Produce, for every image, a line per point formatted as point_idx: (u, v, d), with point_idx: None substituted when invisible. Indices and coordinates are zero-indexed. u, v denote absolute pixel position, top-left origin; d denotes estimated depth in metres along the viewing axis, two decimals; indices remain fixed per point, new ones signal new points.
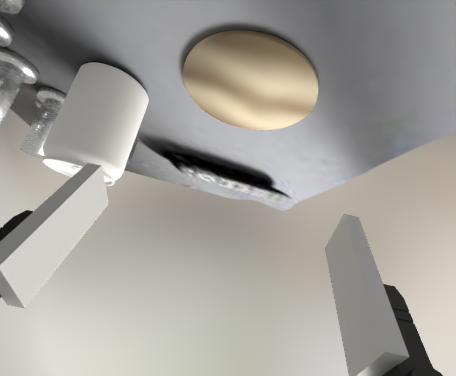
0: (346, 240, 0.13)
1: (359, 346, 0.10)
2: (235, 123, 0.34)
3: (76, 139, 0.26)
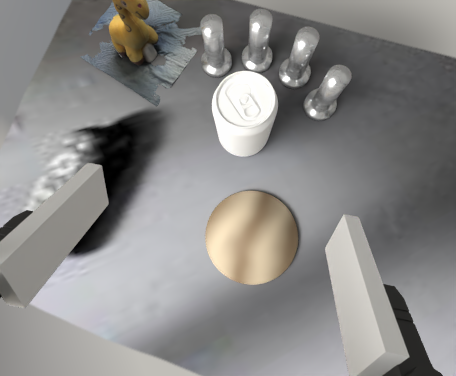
0: (346, 240, 0.13)
1: (359, 346, 0.10)
2: (211, 222, 0.41)
3: None
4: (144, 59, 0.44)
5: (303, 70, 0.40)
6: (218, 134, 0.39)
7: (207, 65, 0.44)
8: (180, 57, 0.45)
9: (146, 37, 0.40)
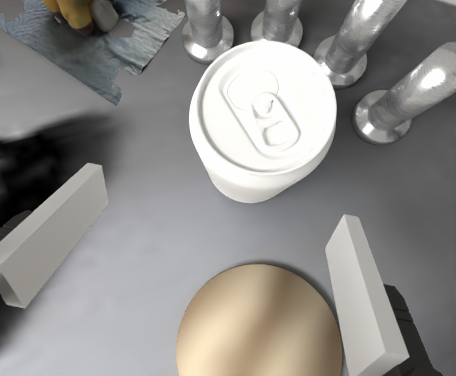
0: (347, 240, 0.13)
1: (359, 346, 0.10)
2: (189, 321, 0.23)
3: None
4: (95, 26, 0.26)
5: (360, 56, 0.23)
6: None
7: (192, 42, 0.26)
8: (158, 24, 0.27)
9: None
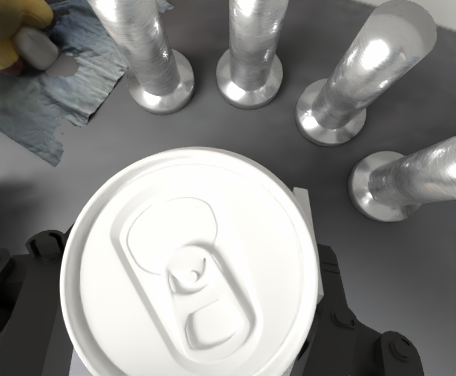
0: None
1: None
2: None
3: None
4: (25, 64, 0.20)
5: (358, 113, 0.17)
6: None
7: (139, 88, 0.20)
8: (109, 59, 0.21)
9: (4, 9, 0.16)
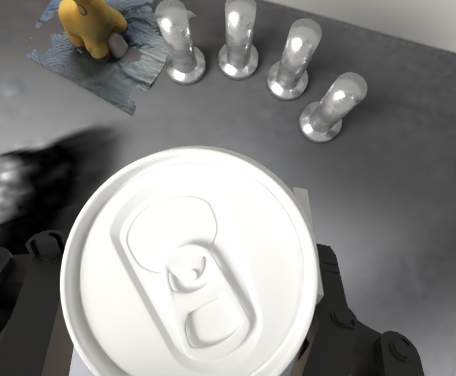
0: None
1: None
2: None
3: None
4: (111, 55, 0.33)
5: (299, 77, 0.30)
6: None
7: (173, 69, 0.33)
8: (159, 49, 0.35)
9: (110, 23, 0.29)
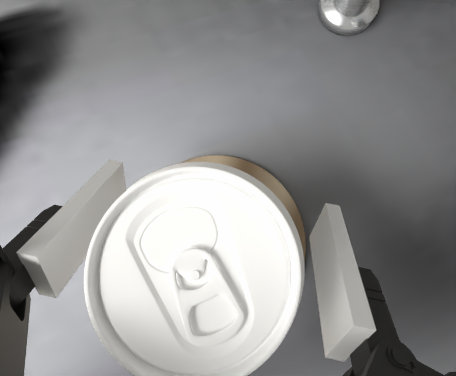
0: (327, 227, 0.13)
1: (333, 324, 0.10)
2: None
3: None
4: None
5: None
6: None
7: None
8: None
9: None
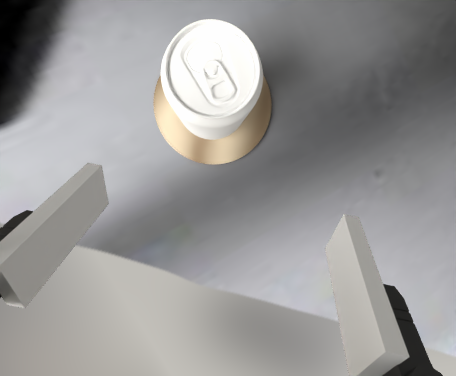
0: (347, 240, 0.13)
1: (359, 346, 0.10)
2: (161, 87, 0.31)
3: None
4: None
5: None
6: None
7: None
8: None
9: None
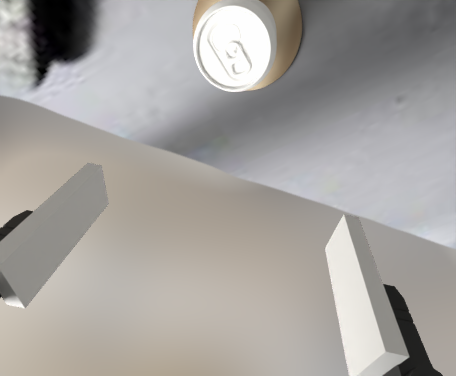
0: (347, 240, 0.13)
1: (359, 346, 0.10)
2: (198, 17, 0.34)
3: None
4: None
5: None
6: None
7: None
8: None
9: None
